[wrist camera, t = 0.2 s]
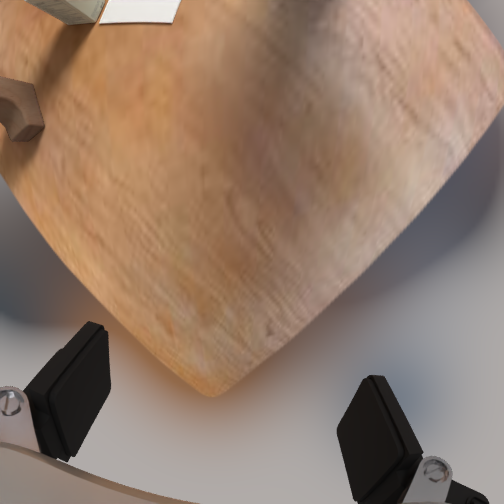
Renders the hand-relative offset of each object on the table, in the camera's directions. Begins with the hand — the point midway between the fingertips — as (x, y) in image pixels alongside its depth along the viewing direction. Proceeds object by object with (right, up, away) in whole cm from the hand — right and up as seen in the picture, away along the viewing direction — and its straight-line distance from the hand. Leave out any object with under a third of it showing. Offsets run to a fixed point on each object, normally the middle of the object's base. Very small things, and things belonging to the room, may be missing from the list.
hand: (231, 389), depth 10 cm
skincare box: (-25, +42, +21) cm, 53 cm away
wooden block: (-34, +27, +25) cm, 50 cm away
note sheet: (-15, +42, +20) cm, 49 cm away
